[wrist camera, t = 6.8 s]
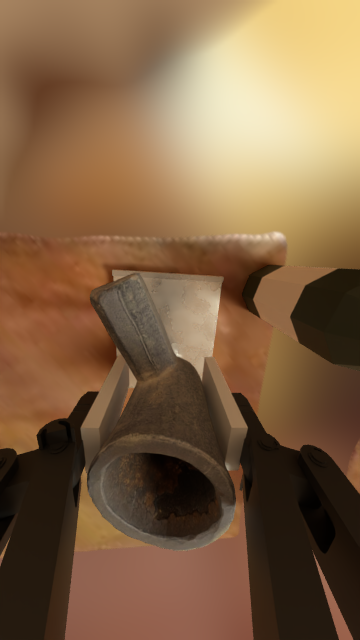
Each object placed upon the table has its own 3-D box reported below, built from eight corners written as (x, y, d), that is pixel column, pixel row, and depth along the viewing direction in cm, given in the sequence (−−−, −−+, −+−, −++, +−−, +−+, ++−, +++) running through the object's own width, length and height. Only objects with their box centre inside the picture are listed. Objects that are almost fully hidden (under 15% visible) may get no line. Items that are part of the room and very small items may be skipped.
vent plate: (119, 386, 34) (97, 443, 23) (115, 269, 28) (83, 274, 17) (206, 387, 35) (222, 442, 25) (220, 275, 29) (250, 285, 18)
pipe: (164, 260, 12) (137, 263, 5) (221, 408, 16) (258, 543, 8) (84, 293, 13) (-53, 340, 5) (156, 426, 17) (134, 567, 9)
